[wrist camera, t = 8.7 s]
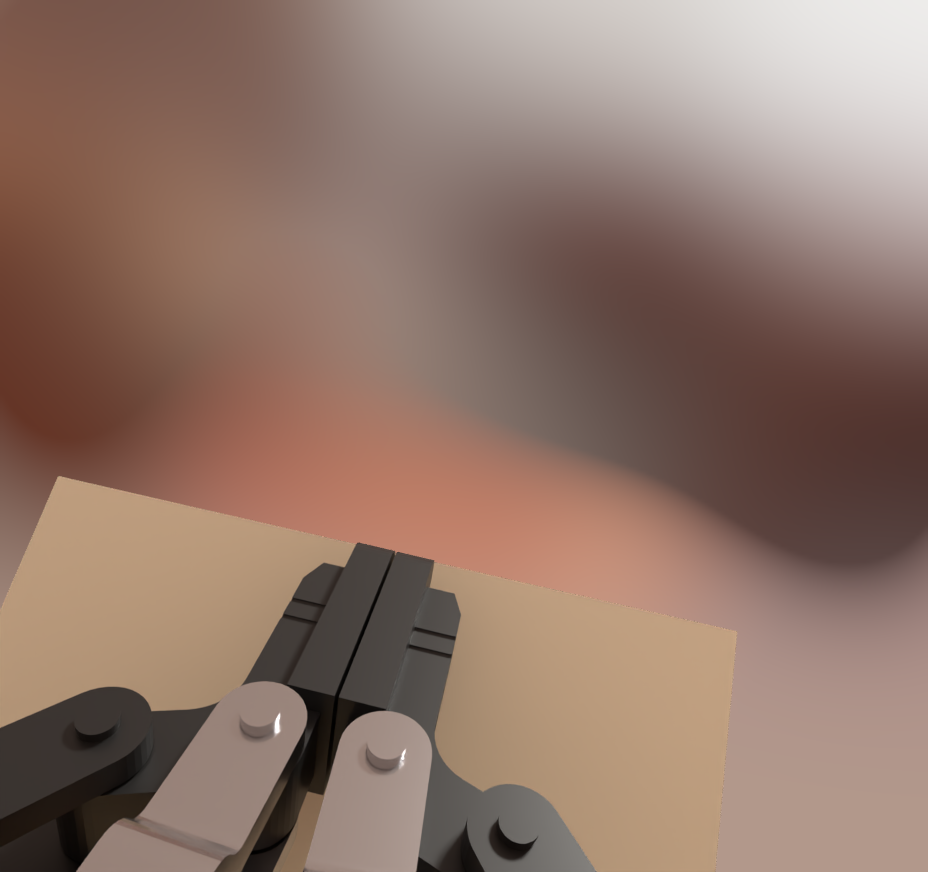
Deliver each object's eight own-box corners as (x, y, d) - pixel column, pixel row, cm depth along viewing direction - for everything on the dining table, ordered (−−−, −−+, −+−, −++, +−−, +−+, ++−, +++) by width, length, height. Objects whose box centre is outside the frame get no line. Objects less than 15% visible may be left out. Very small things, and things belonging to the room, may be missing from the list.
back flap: (-198, 1066, 11) (58, 475, 14) (-172, 1050, 12) (70, 482, 15) (674, 1309, 11) (737, 631, 14) (665, 1283, 11) (727, 633, 14)
